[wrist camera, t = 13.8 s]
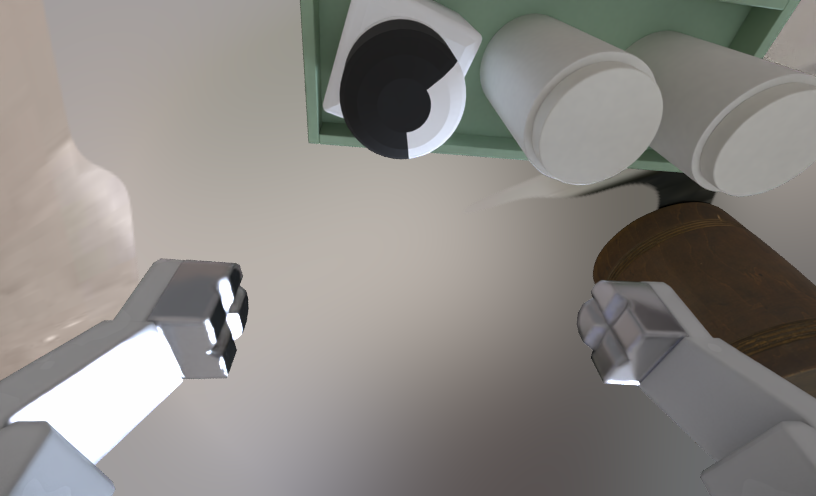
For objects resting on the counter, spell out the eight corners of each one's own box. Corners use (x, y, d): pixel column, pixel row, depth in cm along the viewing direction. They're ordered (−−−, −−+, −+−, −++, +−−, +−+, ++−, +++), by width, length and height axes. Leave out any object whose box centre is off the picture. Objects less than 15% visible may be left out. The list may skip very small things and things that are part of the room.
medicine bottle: (331, 76, 27) (308, 147, 18) (362, -36, 23) (353, -18, 14) (419, 112, 29) (439, 192, 20) (462, 15, 25) (511, 60, 16)
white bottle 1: (586, 19, 26) (703, 66, 17) (551, 115, 30) (629, 195, 21) (492, 7, 25) (560, 49, 16) (470, 108, 30) (514, 187, 20)
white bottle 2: (714, 36, 27) (889, 88, 18) (663, 126, 32) (783, 206, 22) (628, 25, 26) (766, 73, 17) (588, 119, 31) (680, 199, 21)
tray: (764, -9, 26) (803, -3, 24) (665, 156, 34) (687, 173, 32) (303, -77, 22) (295, -79, 20) (313, 127, 30) (308, 143, 28)
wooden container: (610, 315, 49) (732, 515, 32) (575, 246, 40) (716, 466, 24) (735, 264, 44) (956, 467, 27) (725, 174, 36) (1034, 385, 19)
